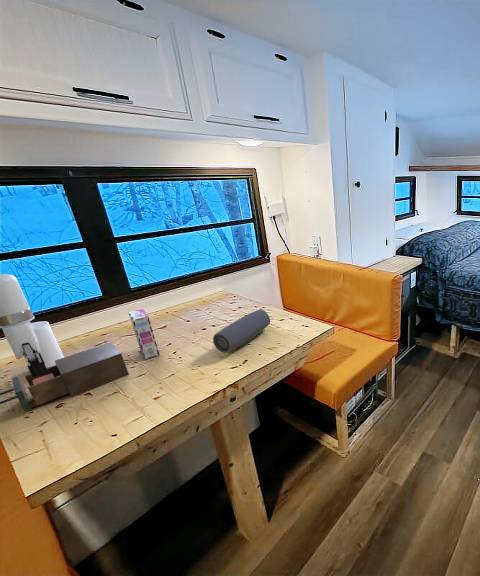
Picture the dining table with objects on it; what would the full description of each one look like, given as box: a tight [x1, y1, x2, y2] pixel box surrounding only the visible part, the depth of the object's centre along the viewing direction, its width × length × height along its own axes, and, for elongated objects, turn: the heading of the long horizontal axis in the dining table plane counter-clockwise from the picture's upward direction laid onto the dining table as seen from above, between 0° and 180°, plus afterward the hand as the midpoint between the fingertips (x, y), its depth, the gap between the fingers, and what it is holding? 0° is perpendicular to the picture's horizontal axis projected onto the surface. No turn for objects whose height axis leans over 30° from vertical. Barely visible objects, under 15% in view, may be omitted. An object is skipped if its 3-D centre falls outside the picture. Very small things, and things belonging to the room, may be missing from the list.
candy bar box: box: [128, 308, 161, 360], centre depth 116 cm, size 11×5×16 cm, turn 45°
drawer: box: [0, 365, 70, 413], centre depth 93 cm, size 21×11×7 cm, turn 142°
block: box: [32, 373, 54, 385], centre depth 95 cm, size 4×4×4 cm
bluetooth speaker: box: [212, 309, 271, 354], centre depth 124 cm, size 23×9×10 cm, turn 161°
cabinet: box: [55, 341, 130, 398], centre depth 103 cm, size 15×13×9 cm
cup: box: [30, 320, 65, 368], centre depth 110 cm, size 8×8×16 cm
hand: (39, 370), depth 93 cm, fingers open, 6 cm apart
